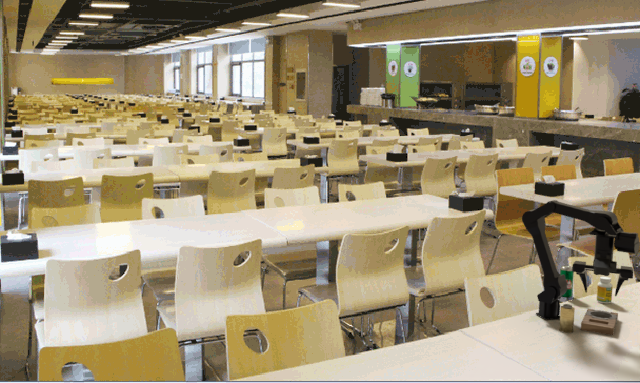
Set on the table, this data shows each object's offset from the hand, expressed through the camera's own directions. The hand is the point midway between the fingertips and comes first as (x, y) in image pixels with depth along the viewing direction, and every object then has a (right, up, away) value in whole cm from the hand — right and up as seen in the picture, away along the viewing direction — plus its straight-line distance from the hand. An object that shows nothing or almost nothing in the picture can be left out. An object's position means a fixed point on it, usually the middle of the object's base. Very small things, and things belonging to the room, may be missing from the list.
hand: (600, 294), depth 218 cm
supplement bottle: (+15, -8, +31) cm, 36 cm away
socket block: (+2, -11, +5) cm, 13 cm away
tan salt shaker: (-12, -12, -1) cm, 17 cm away
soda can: (+3, -7, +38) cm, 39 cm away
